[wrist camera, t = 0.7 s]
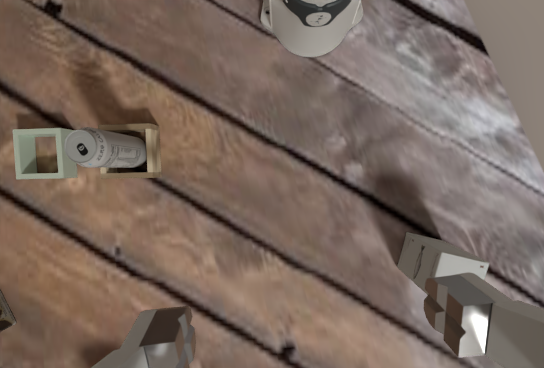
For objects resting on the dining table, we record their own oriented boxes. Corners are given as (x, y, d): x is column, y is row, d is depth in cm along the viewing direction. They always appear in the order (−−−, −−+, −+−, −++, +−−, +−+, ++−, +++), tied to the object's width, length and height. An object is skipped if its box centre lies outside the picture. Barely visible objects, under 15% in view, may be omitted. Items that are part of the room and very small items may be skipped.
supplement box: (405, 230, 53) (442, 250, 41) (443, 240, 53) (492, 262, 41) (395, 267, 54) (428, 297, 41) (432, 276, 54) (478, 310, 41)
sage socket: (29, 132, 56) (12, 129, 53) (74, 130, 56) (60, 127, 52) (32, 178, 57) (16, 179, 53) (77, 177, 56) (63, 178, 53)
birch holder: (109, 127, 55) (97, 125, 52) (159, 126, 55) (150, 123, 51) (112, 178, 56) (101, 178, 52) (161, 177, 55) (153, 177, 52)
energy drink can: (139, 131, 55) (84, 117, 40) (156, 156, 55) (108, 152, 40) (115, 148, 55) (52, 140, 40) (132, 173, 55) (75, 175, 41)
